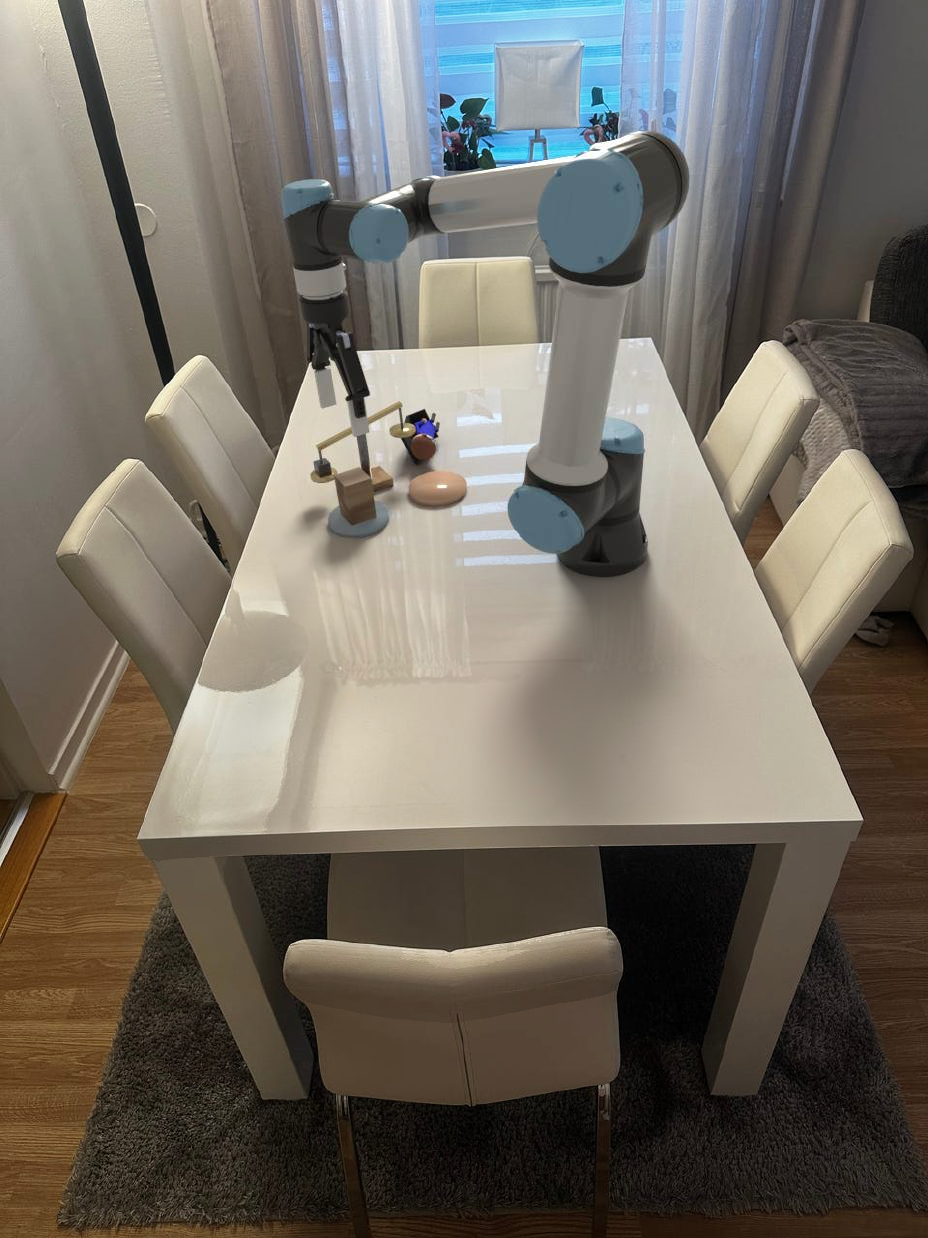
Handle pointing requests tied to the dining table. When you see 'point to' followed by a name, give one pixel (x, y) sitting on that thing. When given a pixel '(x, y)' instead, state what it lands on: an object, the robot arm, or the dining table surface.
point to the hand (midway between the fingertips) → (344, 419)
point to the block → (355, 496)
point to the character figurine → (421, 436)
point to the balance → (362, 451)
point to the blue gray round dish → (361, 529)
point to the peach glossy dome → (437, 488)
